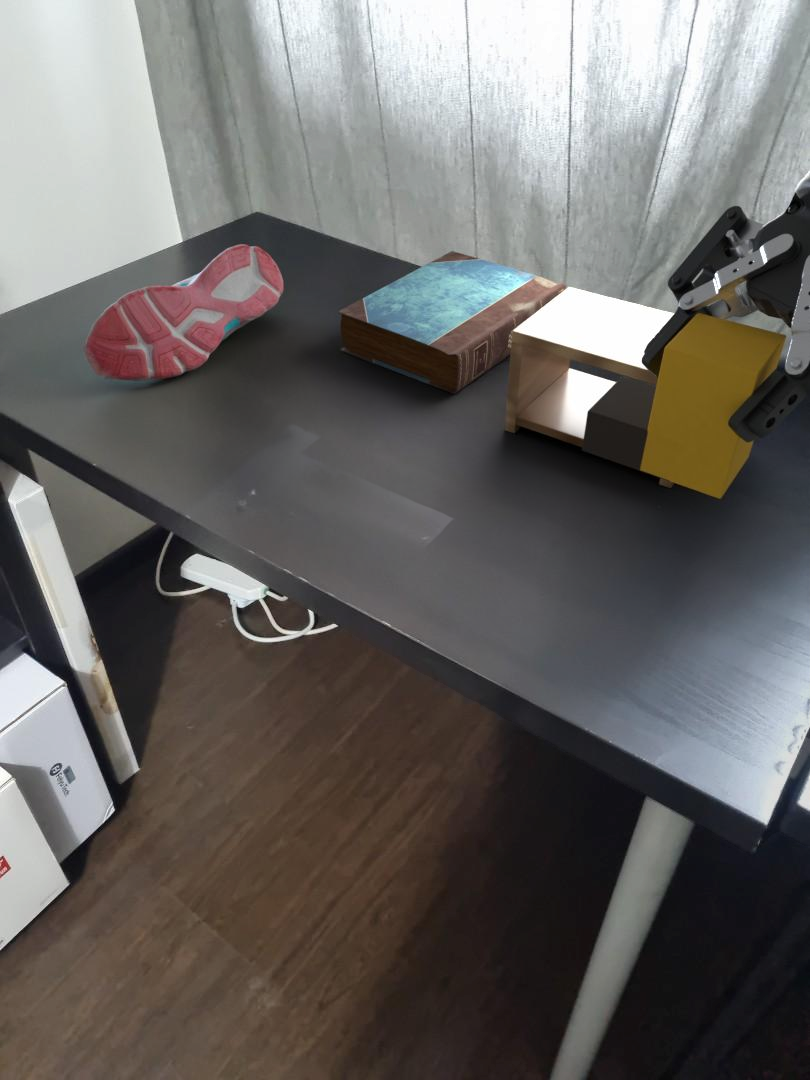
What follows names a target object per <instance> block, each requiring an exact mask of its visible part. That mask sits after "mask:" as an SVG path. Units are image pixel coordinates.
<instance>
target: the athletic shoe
mask: <svg viewBox="0 0 810 1080" xmlns="http://www.w3.org/2000/svg"><path fill="white" fill-rule="evenodd" d="M283 292H284V279H283V276H282V273H281V270H280V268H279V266H278V264H277V262H276V261H275V260H274V259H273V258H272V257H271V255H270V254H269V253H268V252H266V251H265V250H264V249H262V248H261V247H259V246H257V245H254V246H250V245H248V244H243V243H241V244H236V245H233V246H231V247H228V248H226V249H224V250H223V251H222V252H220V253H219V254H218V255H217V256H216V257H214V258H213V259H212V260H211V261H210V262H209V263H208V264H207V265H206V266H205V267H204V268H203V269H202V270H201V272H199V273H196V274H194V275H192V276H190V277H188V278H185V279H183V280H181V281H179V282H176V283H175V284H172V285H161V284H160V285H149V286H144V287H142V288H138V289H135V290H133V291H130V292H127V293H126V294H124V295H122V296H121V297H119V298H118V299H117V300H116V301H114V303H112V304H110V305H109V306H108V307H107V308H105V310H103V312H102V313H100V315H99V316H98V317H97V318H96V319H95V320H94V322H93V324H92V325H91V328H90V330H89V333H88V335H87V337H86V341H85V344H84V354H85V356H86V360H87V362H88V364H89V365H90V366H91V368H92V370H93V372H94V373H95V374H96V375H97V376H99V378H101V379H103V380H117V381H118V380H119V381H132V382H140V381H150V380H163V379H169V378H174V377H179V376H181V375H182V374H184V373H186V372H191V371H193V370H196V369H198V368H199V367H201V366H202V365H203V364H205V363H206V362H207V361H208V359H209V357H210V355H211V354H212V353H214V352H215V351H216V350H217V348H218V347H219V345H220V344H221V342H223V341H225V340H226V339H227V338H228V337H230V335H232V334H233V333H235V332H236V331H237V330H238V329H240V328H242V327H244V326H245V325H247V324H249V323H250V322H252V321H254V320H256V319H258V318H260V317H262V316H263V315H264V314H265V313H266V312H268V311H269V310H272V309H273V308H274V307H275V306H276V305H277V304H278V303H279V300H280V297H281V296H282V294H283Z"/></svg>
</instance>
